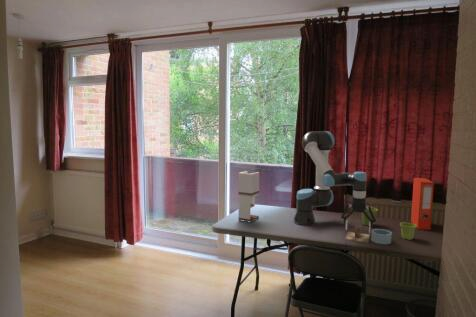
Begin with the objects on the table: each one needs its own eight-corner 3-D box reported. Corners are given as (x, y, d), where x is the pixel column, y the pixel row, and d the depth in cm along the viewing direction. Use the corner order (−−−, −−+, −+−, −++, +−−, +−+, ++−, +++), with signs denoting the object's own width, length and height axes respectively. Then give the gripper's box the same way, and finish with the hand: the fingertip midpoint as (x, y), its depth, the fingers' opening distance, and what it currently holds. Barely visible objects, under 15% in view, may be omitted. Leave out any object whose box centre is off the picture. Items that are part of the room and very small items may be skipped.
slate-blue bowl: (370, 243, 206) (371, 233, 205) (371, 237, 216) (372, 228, 215) (391, 245, 201) (391, 235, 200) (391, 239, 211) (391, 230, 210)
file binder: (423, 222, 246) (425, 178, 243) (430, 230, 230) (433, 182, 226) (410, 221, 248) (413, 177, 245) (417, 229, 232) (420, 182, 228)
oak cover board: (345, 239, 211) (345, 228, 210) (347, 233, 222) (348, 222, 222) (368, 242, 205) (368, 231, 204) (369, 235, 217) (369, 225, 216)
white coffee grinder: (251, 222, 247) (251, 174, 243) (238, 220, 252) (238, 172, 248) (258, 218, 256) (259, 172, 252) (246, 216, 262) (246, 170, 258)
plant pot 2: (395, 235, 218) (396, 222, 217) (410, 235, 219) (410, 222, 218) (404, 241, 209) (405, 227, 208) (419, 240, 210) (419, 226, 209)
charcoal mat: (344, 240, 210) (344, 239, 210) (347, 233, 223) (347, 232, 223) (368, 243, 205) (368, 242, 205) (370, 236, 217) (370, 235, 217)
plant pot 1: (378, 227, 235) (379, 211, 234) (360, 226, 238) (361, 210, 236) (375, 222, 247) (376, 207, 245) (358, 221, 249) (358, 206, 248)
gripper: (337, 196, 213) (336, 230, 215) (381, 200, 202) (379, 235, 205) (339, 194, 219) (338, 226, 222) (381, 197, 209) (379, 231, 212)
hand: (357, 231), depth 213 cm, fingers open, 13 cm apart
